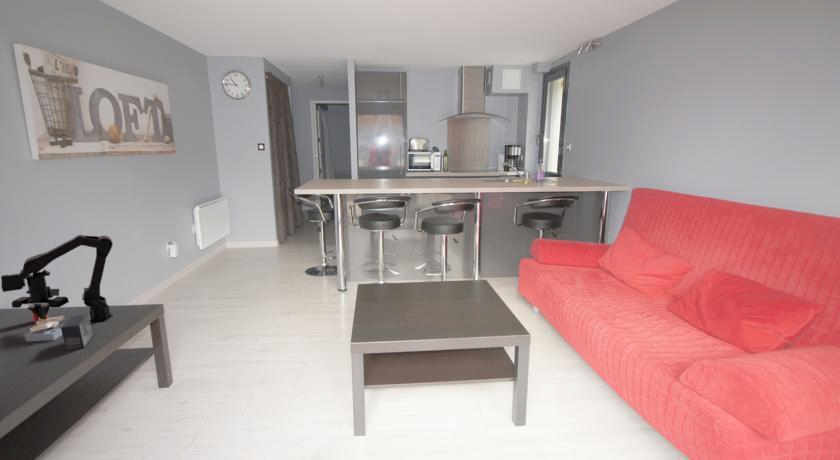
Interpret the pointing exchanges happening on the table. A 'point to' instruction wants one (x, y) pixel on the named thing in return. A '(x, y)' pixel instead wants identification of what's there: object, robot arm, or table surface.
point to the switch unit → (45, 334)
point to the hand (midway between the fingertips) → (44, 320)
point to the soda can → (36, 317)
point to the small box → (77, 332)
